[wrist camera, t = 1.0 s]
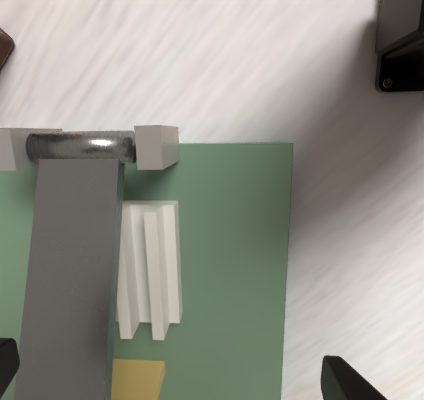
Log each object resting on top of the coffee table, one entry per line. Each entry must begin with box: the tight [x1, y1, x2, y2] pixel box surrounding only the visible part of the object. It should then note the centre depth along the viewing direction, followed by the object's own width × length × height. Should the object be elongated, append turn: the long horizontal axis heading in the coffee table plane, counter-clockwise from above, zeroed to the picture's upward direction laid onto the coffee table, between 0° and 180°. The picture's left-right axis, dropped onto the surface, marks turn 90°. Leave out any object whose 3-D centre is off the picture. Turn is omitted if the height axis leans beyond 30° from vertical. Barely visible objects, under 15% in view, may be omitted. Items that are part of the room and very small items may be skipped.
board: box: [0, 125, 293, 400], centre depth 18 cm, size 22×21×6 cm
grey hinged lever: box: [14, 131, 137, 400], centre depth 13 cm, size 5×16×2 cm, turn 1°
